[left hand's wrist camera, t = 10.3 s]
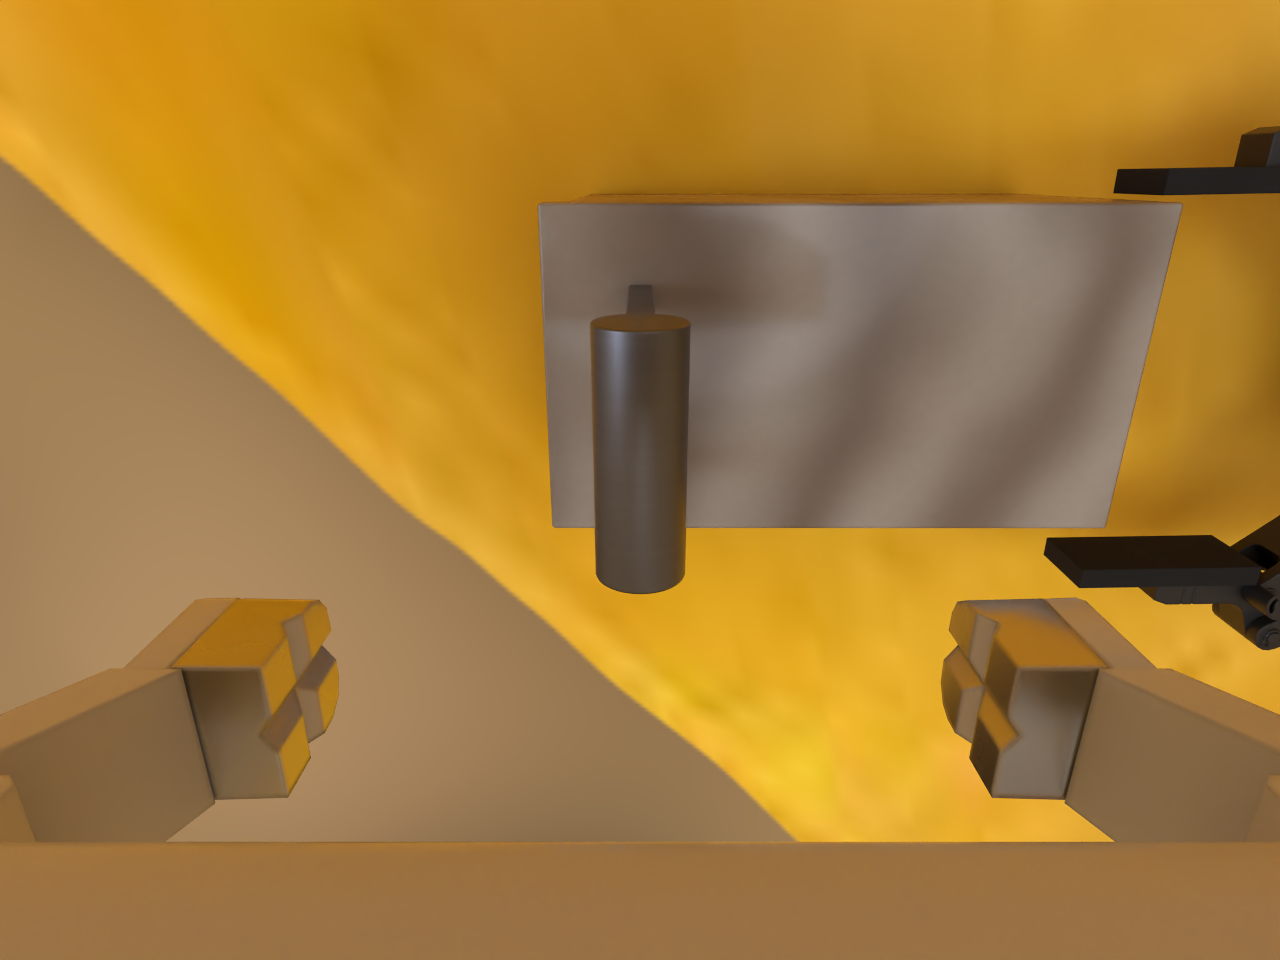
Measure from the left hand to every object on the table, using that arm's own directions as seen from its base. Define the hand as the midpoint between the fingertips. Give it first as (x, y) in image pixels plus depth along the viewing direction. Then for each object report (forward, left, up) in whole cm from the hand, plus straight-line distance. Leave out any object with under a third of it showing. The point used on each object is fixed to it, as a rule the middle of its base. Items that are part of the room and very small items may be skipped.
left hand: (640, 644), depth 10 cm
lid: (+4, +5, -16) cm, 17 cm away
